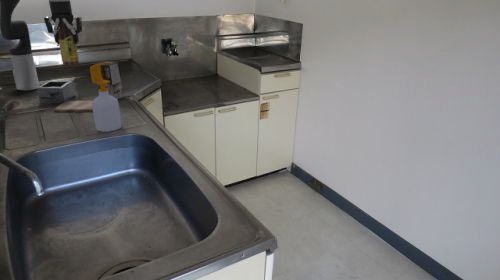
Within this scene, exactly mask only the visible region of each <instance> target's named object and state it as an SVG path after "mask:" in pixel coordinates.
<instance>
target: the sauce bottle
mask: <svg viewBox="0 0 500 280" xmlns="http://www.w3.org/2000/svg"><path fill="white" fill-rule="evenodd" d="M58 18H59V19H60V28H59V31H58V38H59V44H58V45H59V50H60V56H61V61H62V65H63V66H65V67H71V66H72V67H73V66H78V65H79V61H80V60H79V55H78V53H79V52H78V47H77V44H74V40H73V33H72V32H71V30H70V29H69V28H68V27H67V26H66V24H65V23H64V21H63V18H65V16H64V15H58Z"/></svg>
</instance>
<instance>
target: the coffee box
mask: <svg viewBox="0 0 500 280" xmlns="http://www.w3.org/2000/svg"><path fill="white" fill-rule="evenodd" d="M104 62H106V64H103V65H101V66H100V69H101V75H102V79H103V80H108V81H110V83H106V85H105V88H107V89H108V92H109V95H110V96H113V97H114V98H116V99H117V100H119V99H122V98H124V97H125V96H124V91H123V90H124V88H123V87H124V86H123V81H122V75H121V74H122V73H121V67H120V62H114V61H104V60H103V61H101V62H97V63H95V64H94V65H96V64H100V63H104ZM97 85H98V84H97ZM99 89H101V88H100V86H99V85H98V90H99Z"/></svg>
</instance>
